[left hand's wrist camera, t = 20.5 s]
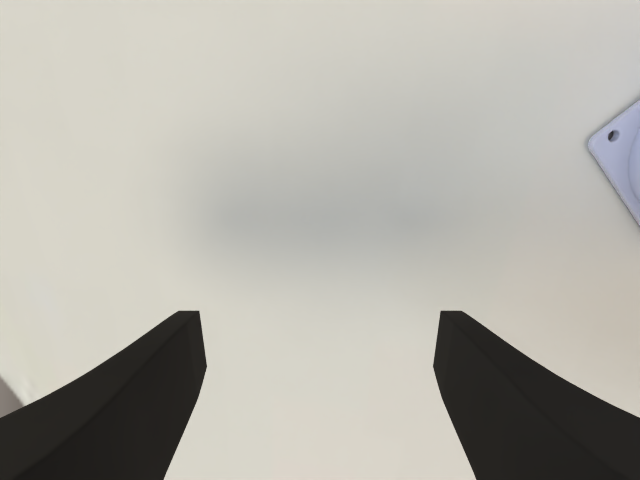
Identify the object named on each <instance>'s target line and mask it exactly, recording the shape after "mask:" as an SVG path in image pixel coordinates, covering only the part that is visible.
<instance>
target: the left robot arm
mask: <svg viewBox="0 0 640 480" xmlns="http://www.w3.org/2000/svg"><path fill="white" fill-rule="evenodd" d="M611 131H613V137H612V138H611V139H610V140H608V135H609V133H610V132H611ZM588 147H589V150H590V151H591V153H592V154H593V156H594V158H595V159H596V161H597V162H598V164H599V165H600V167H601V168H602V170H603V171H604V173H605V174H606V176H607V177H608V179H609V180H610V182H611V183H612V185H613V186H614V188H615V189H616V191H617V192H618V194H619V195H620V197H621V198H622V200H623V202H624V203H625V205H626V206H627V208H628V209H629V211H630V212H631V214H632V215H633V217H634V218H635V220H636V221H637V223H638V224H639V226H640V99H639V100H638V101H637V102H636V103H634V104H633V105H632V106H630V107H629V108H628V109H626V110H625V111H624V112H623V113H621V114H620V115H619V116H617V117H616V118H615V119H614V120H612V121H611V122H610V123H608V124H607V125H606V126H604V127H603V128H602V129H601V130H599V131H598V132H597V133H595V134H594V135H593V136H592V137H591V138H590V140H589V143H588ZM206 368H207V364H206V357H205V349H204V342H203V335H202V328H201V320H200V313H199V311H178V312H176V313H174V314H173V315H171V316H170V317H168V318H167V319H166V320H164V321H163V322H161V323H160V324H159V325H157V326H156V327H154V328H153V329H152V330H150V331H149V332H147V333H146V334H145V335H143V336H142V337H140V338H139V339H138V340H136V341H135V342H133V343H132V344H130V345H129V346H128V347H126V348H125V349H123V350H122V351H120V352H119V353H117V354H116V355H114V356H112V357H111V358H109V359H108V360H106V361H105V362H103V363H102V364H100V365H99V366H97V367H96V368H94V369H92V370H91V371H89V372H88V373H86V374H84V375H83V376H81V377H79V378H78V379H76V380H74V381H72V382H71V383H69V384H67V385H65V386H63V387H62V388H60V389H58V390H56V391H54V392H52V393H51V394H49V395H47V396H45V397H43V398H41V399H39V400H37V401H35V402H33V403H31V404H29V405H27V406H24V407H22V408H20V409H18V410H16V411H14V412H12V413H10V414H8V415H6V416H4V417H1V418H0V480H164V477H165V475H166V472H167V470H168V467H169V465H170V463H171V460H172V458H173V456H174V453H175V451H176V449H177V446H178V444H179V442H180V439H181V437H182V435H183V433H184V430H185V428H186V426H187V423H188V421H189V418H190V416H191V414H192V411H193V409H194V407H195V404H196V402H197V399H198V396H199V393H200V390H201V386H202V383H203V379H204V375H205V372H206ZM433 368H434V372H435V375H436V379H437V383H438V386H439V390H440V393H441V396H442V399H443V402H444V404H445V407H446V409H447V411H448V414H449V416H450V418H451V421H452V423H453V426H454V428H455V430H456V433H457V435H458V437H459V439H460V442H461V444H462V446H463V449H464V451H465V453H466V456H467V458H468V460H469V463H470V465H471V467H472V470H473V472H474V475H475V477H476V480H640V418H639V417H637V416H635V415H632V414H630V413H628V412H626V411H624V410H622V409H620V408H617V407H615V406H613V405H611V404H609V403H607V402H605V401H603V400H601V399H599V398H597V397H596V396H594V395H592V394H590V393H588V392H586V391H584V390H583V389H581V388H579V387H577V386H575V385H573V384H572V383H570V382H568V381H566V380H565V379H563V378H561V377H559V376H558V375H556V374H554V373H553V372H551V371H550V370H548V369H546V368H545V367H543V366H542V365H540V364H538V363H537V362H535V361H534V360H532V359H531V358H529V357H527V356H526V355H524V354H523V353H521V352H520V351H519V350H517V349H516V348H514V347H513V346H511V345H510V344H508V343H507V342H505V341H504V340H503V339H501V338H500V337H498V336H497V335H496V334H494V333H493V332H491V331H490V330H489V329H487V328H486V327H484V326H483V325H482V324H480V323H479V322H477V321H476V320H475V319H473V318H472V317H470V316H469V315H467V314H466V313H464V312H462V311H441V313H440V320H439V328H438V335H437V342H436V349H435V357H434V364H433Z"/></svg>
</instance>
